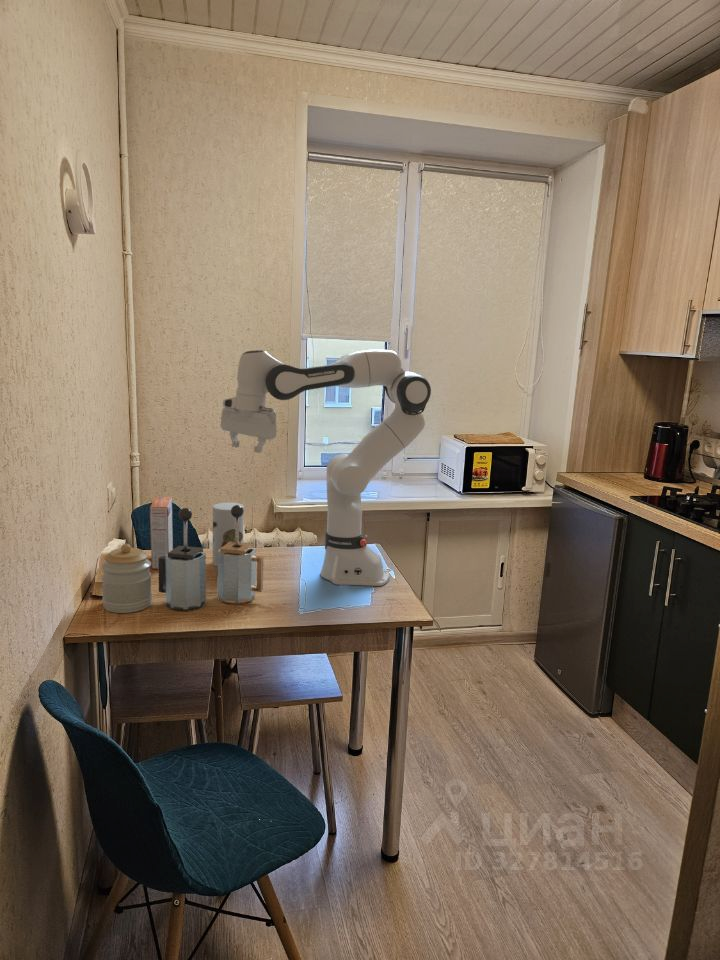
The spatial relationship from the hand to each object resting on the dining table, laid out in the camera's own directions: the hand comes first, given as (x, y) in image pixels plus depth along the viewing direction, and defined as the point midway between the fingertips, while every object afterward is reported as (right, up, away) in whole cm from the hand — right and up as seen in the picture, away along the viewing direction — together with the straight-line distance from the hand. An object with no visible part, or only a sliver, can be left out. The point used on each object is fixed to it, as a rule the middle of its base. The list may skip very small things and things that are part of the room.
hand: (246, 449), depth 201 cm
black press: (-16, -44, -15) cm, 49 cm away
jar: (-30, -44, -17) cm, 56 cm away
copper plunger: (-1, -33, -11) cm, 35 cm away
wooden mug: (-6, -40, +7) cm, 41 cm away
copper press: (0, -44, -9) cm, 45 cm away
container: (-10, -38, +20) cm, 44 cm away
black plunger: (-14, -34, -17) cm, 40 cm away
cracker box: (-31, -37, +19) cm, 52 cm away
